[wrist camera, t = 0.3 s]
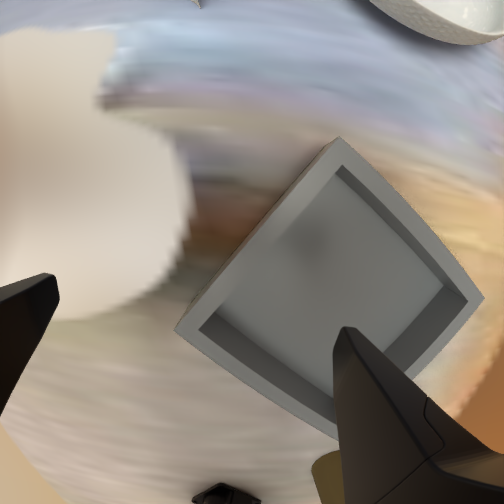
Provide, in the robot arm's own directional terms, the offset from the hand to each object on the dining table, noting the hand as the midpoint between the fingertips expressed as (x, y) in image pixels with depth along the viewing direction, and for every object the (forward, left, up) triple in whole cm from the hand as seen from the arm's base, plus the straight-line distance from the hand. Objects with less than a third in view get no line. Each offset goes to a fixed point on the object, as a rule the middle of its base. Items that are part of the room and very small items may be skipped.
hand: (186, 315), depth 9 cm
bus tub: (+1, -9, -15) cm, 18 cm away
